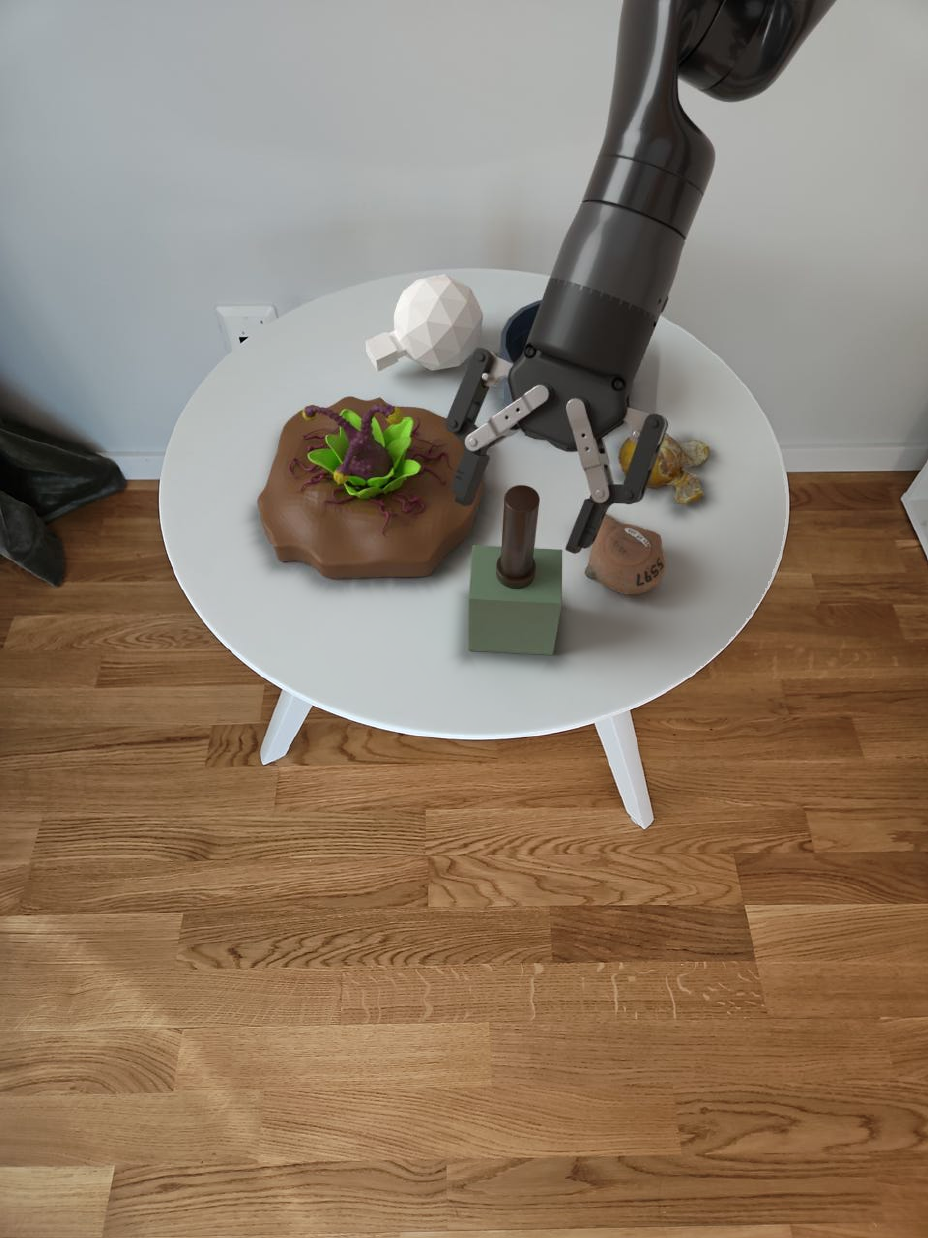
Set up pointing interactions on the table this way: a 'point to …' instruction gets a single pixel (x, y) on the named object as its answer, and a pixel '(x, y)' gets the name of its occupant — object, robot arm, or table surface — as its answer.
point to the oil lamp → (626, 557)
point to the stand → (514, 605)
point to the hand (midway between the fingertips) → (517, 527)
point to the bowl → (515, 342)
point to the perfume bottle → (431, 326)
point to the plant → (365, 490)
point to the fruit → (672, 466)
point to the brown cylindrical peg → (518, 537)
